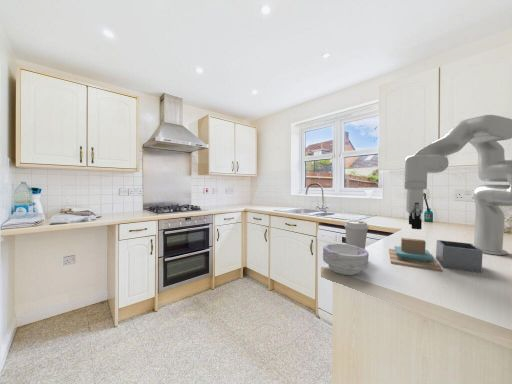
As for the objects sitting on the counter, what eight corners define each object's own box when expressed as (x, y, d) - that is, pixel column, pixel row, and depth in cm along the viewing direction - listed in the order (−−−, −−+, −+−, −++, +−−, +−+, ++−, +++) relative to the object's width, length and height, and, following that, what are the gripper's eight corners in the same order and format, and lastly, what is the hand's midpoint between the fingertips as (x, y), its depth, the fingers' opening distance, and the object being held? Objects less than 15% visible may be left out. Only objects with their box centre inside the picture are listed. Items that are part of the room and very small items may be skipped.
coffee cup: (361, 262, 89) (362, 225, 89) (339, 256, 96) (340, 221, 96) (371, 257, 96) (372, 222, 95) (349, 252, 103) (350, 219, 102)
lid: (394, 251, 102) (395, 235, 102) (427, 255, 96) (428, 238, 96) (396, 259, 91) (397, 240, 91) (433, 264, 86) (434, 245, 85)
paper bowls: (378, 276, 76) (379, 253, 76) (340, 281, 72) (340, 256, 72) (347, 261, 91) (348, 241, 90) (314, 264, 86) (315, 244, 86)
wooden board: (389, 250, 106) (389, 248, 106) (431, 255, 99) (431, 254, 99) (390, 263, 89) (390, 261, 89) (442, 271, 81) (442, 269, 81)
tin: (435, 258, 95) (436, 239, 95) (470, 263, 90) (471, 243, 89) (442, 266, 86) (443, 246, 85) (481, 272, 80) (482, 250, 80)
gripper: (402, 185, 102) (402, 222, 103) (406, 186, 87) (406, 230, 88) (423, 185, 98) (422, 223, 99) (431, 186, 83) (430, 231, 84)
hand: (414, 226), depth 93 cm, fingers open, 9 cm apart
